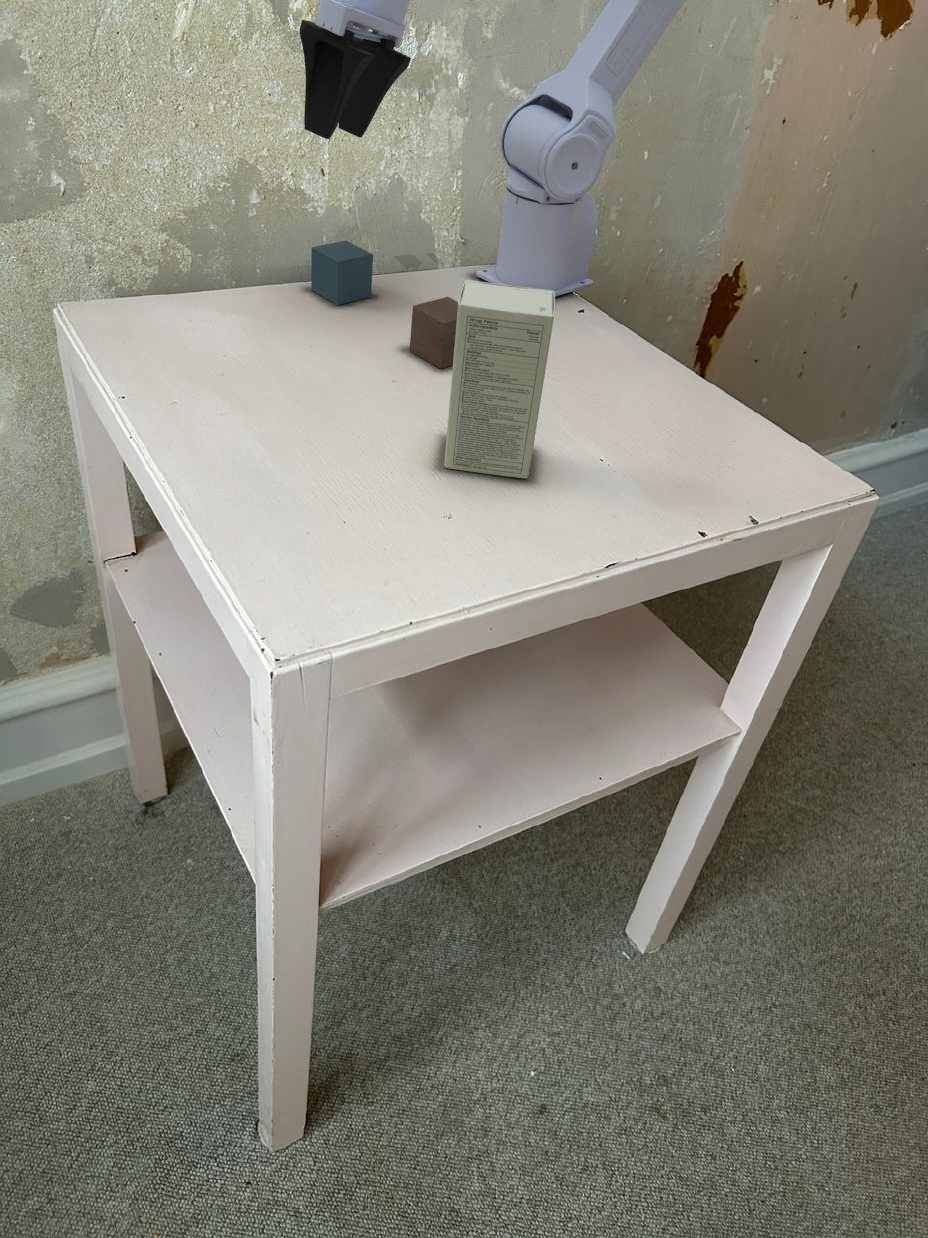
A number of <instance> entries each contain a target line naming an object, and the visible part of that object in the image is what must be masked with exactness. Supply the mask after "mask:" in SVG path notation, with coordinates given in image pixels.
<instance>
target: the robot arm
mask: <svg viewBox="0 0 928 1238" xmlns="http://www.w3.org/2000/svg"><path fill="white" fill-rule="evenodd" d="M410 1H411V0H320V3H319V7H318V11H317V15H316V18H315V22H313V21H310V20H306V19H301V22H300V26H299V37H300V40H301V42H300V43H301V46H302V52H303V58H304V68H305V70H304V71H305V90H304V91H305V93H304V94H305V95H304V115H303V116H304V117H303V118H304V119H303V121H304V122H303V124H304V127H303V128H304V130H306V131H308V132H310V133H312V134H314V135H317V136H318V137H321V138H323V139H326V140H331V138H332V136H333V134H334V133H335V131H336V129H337V127H338V129H340V130H341V131H344V132H346V133H348V134H351V135H352V136H355V137H356V138H359V139H360V138H363V136H364V135H365V133H366V131H367V130H368V128H369V127H370V124H371V122H372V121H373V118H374V117H375V115H376V113H377V111H378V109H379V107H380V105H381V103H382V101H383V100H384V98H385V96H386V95H387V93H388V92H389V90H390V89H391V87H392V86H393V85H394V83H395V82H396V81H397V80H398V79H399V77H400V76H402V74H403V73H404V72H405V71H406V70H407V69H408V67H409V66H410V62H411V60H412V59H411V57H410V56H408V55H406V54H404V53H403V52H400V51H398V50H396V49H400V47H401V44H402V40H403V37H404V33H405V30H406V28H407V23H405V18H406V15H407V11H408V8H409V4H410ZM686 1H687V0H609V1H608V2H607V3H606V5H605V7H603V9H602V11H601V12H600V14H599V16H598V17H597V19H596V20H595V22H594V24H592V26H591V28H590V30H589V32H588V33H587V35H586V36H585V37H584V39H583V40H582V42H581V44H580V45H579V47H578V48H577V50H576V51H575V53H574V54H573V56H572V58H571V59H570V60H569V62H568V64H567V65H566V67H565V68H563V69H562V70H560V71H558V72H557V73H555V74H553V75H551V76H549V77H547V78H544V80H542V81H540V82H539V83H538V85H537V87H536V88H535V89H534V91H533V93H532V94H531V95H530V96H529V97H528V98H527V99H526V100H525V101H523V102H522V103H520V104H518V105H517V106H516V107H514V108H513V109H512V110H511V111H510V112H509V114H508V115H507V116H506V118H505V119H504V122H503V124H502V126H501V129H500V132H499V143H498V145H499V151H500V155H501V157H502V159H503V161H504V163H505V164H506V165H507V166H508V167H507V174H506V187H505V192H504V193H505V194H504V202H503V210H502V218H501V224H500V233H499V240H498V247H497V255H496V263H495V266H490V267H487V268H483V269H478V270H476V273H475V274H476V277H477V278H480V279H482V280H484V281H485V282H487V283H495V284H504V285H512V286H520V287H528V288H536V289H544V290H552V291H554V292H555V297H559V296H562V295H565V294H568V293H572V292H576V291H579V290H582V289H587V288H589V287H592V286H593V285H594V280H593V279H591V278H588V275H589V270H590V264H591V260H592V256H593V255H592V254H593V249H594V245H595V238H596V234H597V229H598V223H599V213H598V207H597V203H596V200H595V199H594V197H593V195H592V194H591V192H590V190H592V188H593V187H594V185H595V184H596V183H597V180H598V179H599V177H600V175H601V171H602V169H603V164H604V161H605V157H606V154H607V152H608V150H609V148H610V147H611V145H612V143H614V140H616V137H617V125H616V116H615V106H616V105H617V103H618V102H619V100H620V98H621V97H622V96H623V94H624V93H625V91H626V89H627V88H628V87H629V85H630V84H631V82H632V81H633V79H634V78H635V76H636V75H637V73H638V72H639V70H640V69H641V67H642V66H643V64H644V63H645V62H646V60H647V59H648V57H649V55H650V54H651V53H652V51H653V49H654V48H655V47H656V46H657V44H658V43H659V41H660V40H661V38H662V36H663V35H664V33H665V32H666V31H667V29H668V27H669V26H670V24H671V23H672V21H674V18H675V17H676V16H677V14H678V13H679V11H680V10H681V8H682V6H683V5H684V4H685V2H686ZM369 30H371V31H369Z"/></svg>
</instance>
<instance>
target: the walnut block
mask: <svg viewBox="0 0 928 1238" xmlns="http://www.w3.org/2000/svg"><path fill="white" fill-rule="evenodd" d="M458 302H459V301H457V300H455V299H453V298H451V297H449V296H444V297H440V298H438V299H433V300H430V301H429V300H428V301H426V302H422V303H418V304H414V305H412V312H411V324H410V325H411V326H410V337H409V352H410V353H412V354H414V355H415V356H417V357H419V358H421V359H422V360H425V361H426V362H428V363H430V364H431V365H433V366H434V367H436V368H438V369H440V370H443V369H447V368H450V367H453V358H454V347H455V336H456V324H457V311H458Z"/></svg>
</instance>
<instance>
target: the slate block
mask: <svg viewBox="0 0 928 1238" xmlns="http://www.w3.org/2000/svg"><path fill="white" fill-rule="evenodd" d="M310 264H311V265H310V266H311V267H310V268H311V270H310V271H311V275H310V277H311V278H310V279H311V285H310V286H311V287H310V288H311V291H313V292H314V293H315V294H317V295H319V296H320V297H323V298H324V299H326V300H328V301H329V302H331V303H333V304H335V305H336V306H340V305H344V304H349V303H352V302H356V301H361V300H365V299H369V298H372V291H373V290H372V288H373V286H372V285H373V268H374V267H373V266H374V265H373V264H374V254H373V253H371V252H369V251H367V250H365V249H363V248H361V247H359V246H358V245H356V244H354V243H352V242H350V241H348V240H341V241H336V242H331V243H325V244H321V245H316V246H312V247H311V263H310Z"/></svg>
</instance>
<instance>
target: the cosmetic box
mask: <svg viewBox="0 0 928 1238" xmlns="http://www.w3.org/2000/svg"><path fill="white" fill-rule="evenodd" d="M457 302H458V311H457V324H456V336H455V347H454V358H453V365H452V372H451V381H450V383H451V384H450V394H449V403H448V404H449V407H448V416H447V417H448V418H447V427H446V428H447V429H446V438H445V451H444V462H443V466H444V468H446V469H451V470H457V471H465V472H471V473H479V474H487V475H493V476H500V477H507V478H508V477H509V478H520V479H528V478H529V476H530V470H531V463H532V457H533V451H534V445H535V439H536V432H537V427H538V419H539V413H540V409H541V401H542V394H543V388H544V383H545V377H546V371H547V363H548V356H549V351H550V344H551V338H552V332H553V326H554V319H555V312H556V296H555V292H554V291H552V290H544V289H536V288H528V287H520V286H512V285H504V284H495V283H490V282H488V281H479V280H472V279H465V280H464V282H463V285H462V288H461V291H460V295H459V298H458V301H457Z"/></svg>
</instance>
